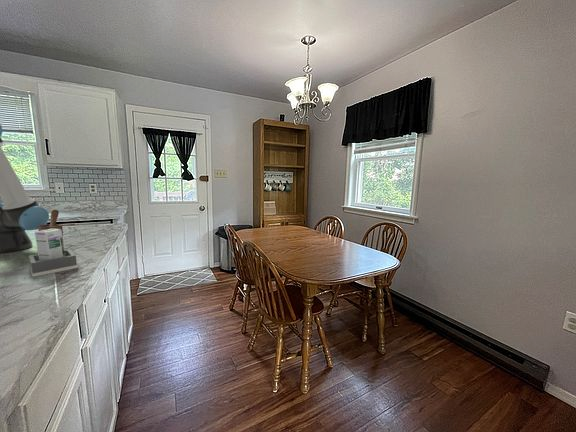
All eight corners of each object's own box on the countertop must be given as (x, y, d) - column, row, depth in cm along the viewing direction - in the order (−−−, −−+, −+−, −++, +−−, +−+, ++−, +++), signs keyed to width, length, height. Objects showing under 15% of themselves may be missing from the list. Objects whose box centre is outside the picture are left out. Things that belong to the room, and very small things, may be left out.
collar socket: (30, 268, 103) (28, 255, 102) (71, 260, 112) (70, 249, 112) (32, 276, 94) (30, 263, 93) (77, 267, 104) (76, 255, 103)
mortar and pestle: (42, 249, 128) (36, 210, 124) (65, 246, 133) (60, 208, 130) (41, 255, 119) (34, 213, 116) (65, 252, 125) (60, 211, 121)
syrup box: (51, 268, 100) (46, 231, 97) (39, 266, 101) (34, 231, 99) (66, 263, 105) (62, 228, 103) (55, 262, 107) (50, 228, 104)
